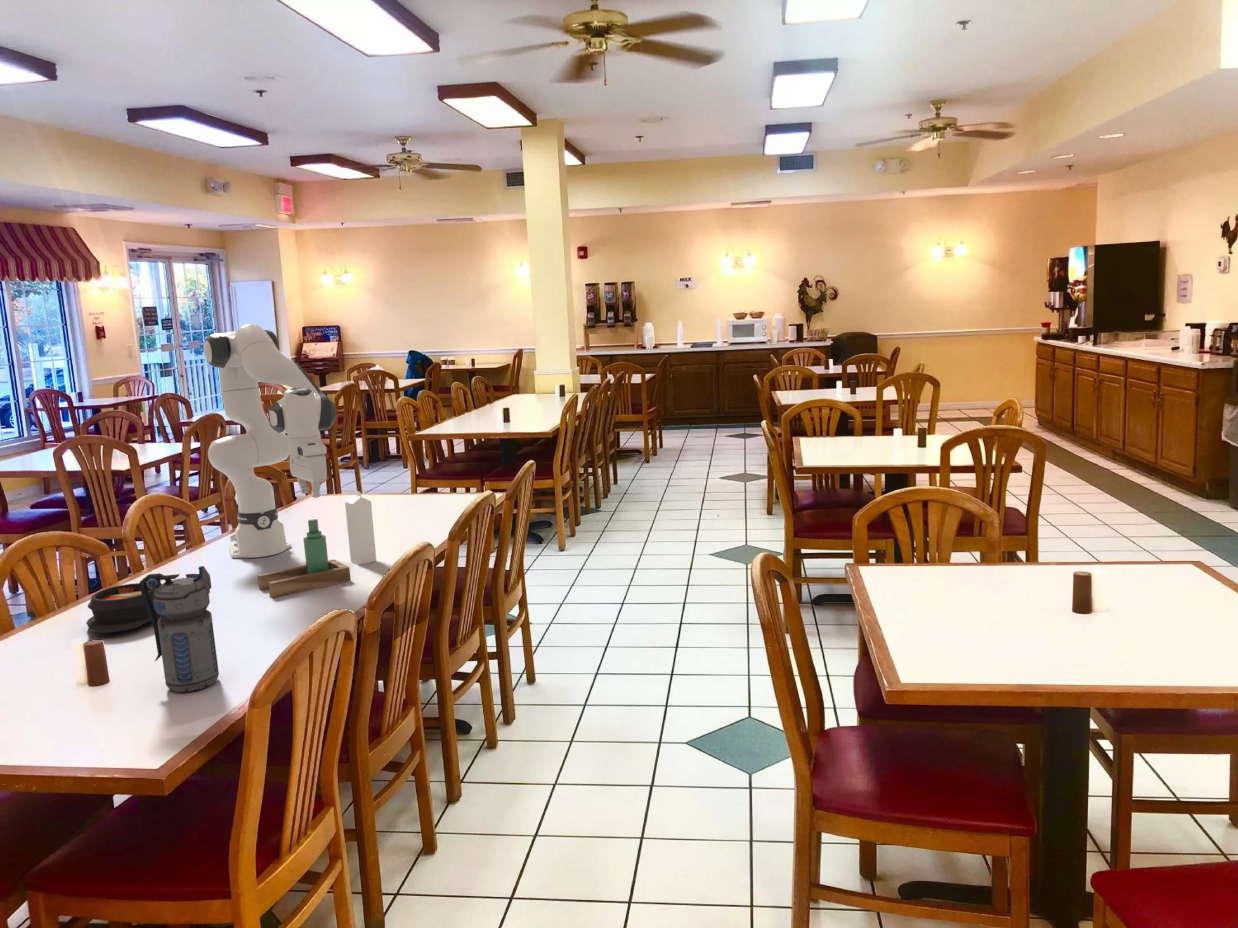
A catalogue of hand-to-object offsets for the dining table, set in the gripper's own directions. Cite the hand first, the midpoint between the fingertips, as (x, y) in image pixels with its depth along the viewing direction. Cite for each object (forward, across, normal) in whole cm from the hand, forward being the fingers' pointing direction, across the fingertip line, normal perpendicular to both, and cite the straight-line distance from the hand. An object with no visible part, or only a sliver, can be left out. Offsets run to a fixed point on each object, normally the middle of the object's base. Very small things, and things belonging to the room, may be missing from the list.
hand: (310, 495), depth 262 cm
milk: (+25, -12, +18) cm, 33 cm away
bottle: (+25, 0, 0) cm, 25 cm away
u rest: (+25, 0, -4) cm, 26 cm away
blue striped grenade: (+26, +56, -47) cm, 77 cm away
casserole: (+26, 0, -49) cm, 55 cm away
